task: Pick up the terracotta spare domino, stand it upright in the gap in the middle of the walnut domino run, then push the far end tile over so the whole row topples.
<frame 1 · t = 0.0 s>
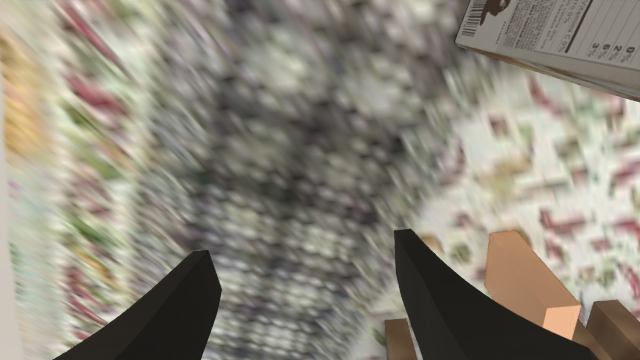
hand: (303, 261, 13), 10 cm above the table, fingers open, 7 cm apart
domino 1: (598, 322, 29), on the table
domino 2: (549, 326, 29), on the table
coffee box: (548, 7, 18), on the table
domino 5: (396, 339, 30), on the table
spare domino: (499, 258, 26), on the table
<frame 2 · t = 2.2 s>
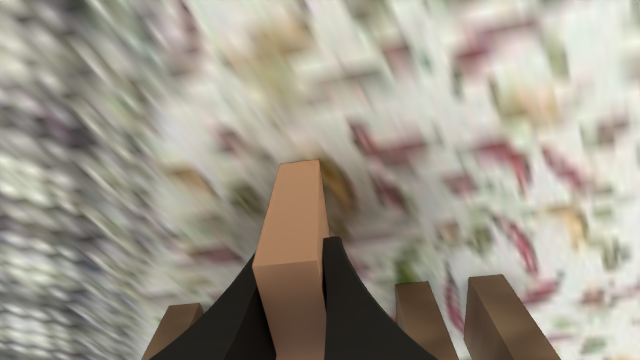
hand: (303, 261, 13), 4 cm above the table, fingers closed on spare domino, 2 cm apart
domino 1: (481, 308, 20), on the table
domino 2: (412, 315, 20), on the table
domino 5: (196, 334, 21), on the table
spare domino: (307, 208, 17), on the table, touching gripper
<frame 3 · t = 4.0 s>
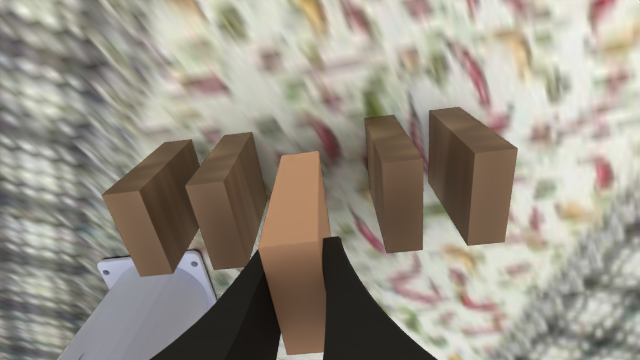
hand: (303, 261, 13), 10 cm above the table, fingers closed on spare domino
domino 4: (246, 168, 23), on the table
domino 1: (442, 146, 22), on the table
domino 2: (381, 153, 22), on the table
domino 5: (189, 175, 23), on the table
spare domino: (307, 197, 17), point 5 cm above the table, touching gripper
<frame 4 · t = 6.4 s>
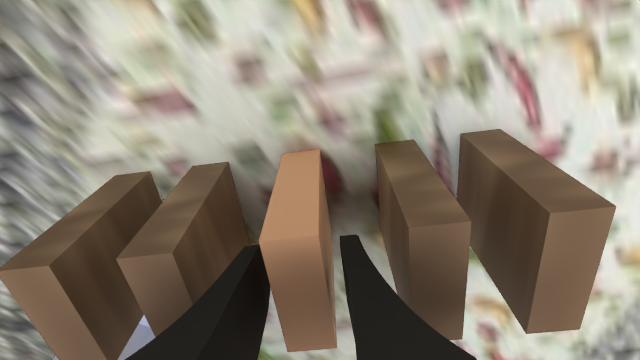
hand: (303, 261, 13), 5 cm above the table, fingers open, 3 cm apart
domino 4: (223, 207, 18), on the table
domino 1: (476, 178, 17), on the table
domino 2: (395, 187, 17), on the table
domino 5: (150, 215, 18), on the table
spare domino: (308, 196, 17), on the table
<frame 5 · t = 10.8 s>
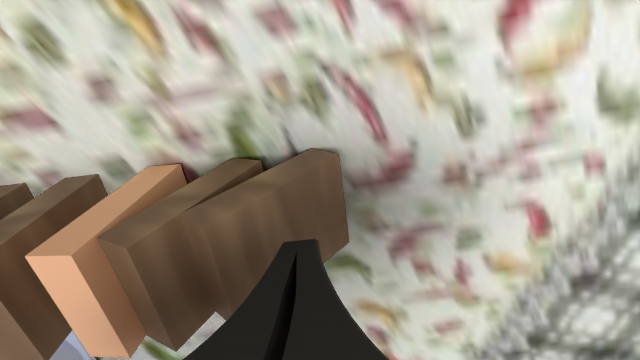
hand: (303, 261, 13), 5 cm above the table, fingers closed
domino 4: (101, 216, 19), on the table
domino 1: (330, 196, 17), point 1 cm above the table, tilted 43°
domino 2: (257, 202, 18), on the table, tilted 29°, touching spare domino
domino 5: (33, 224, 19), on the table
spare domino: (179, 207, 18), on the table, tilted 8°, touching domino 2
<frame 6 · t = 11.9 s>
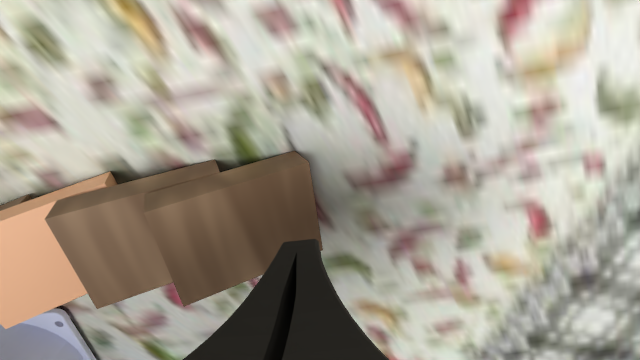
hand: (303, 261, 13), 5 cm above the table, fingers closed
domino 1: (308, 201, 17), point 1 cm above the table, tilted 64°, touching domino 2
domino 2: (230, 209, 18), point 1 cm above the table, tilted 67°, touching domino 1, spare domino
spare domino: (132, 218, 18), point 1 cm above the table, tilted 66°, touching domino 2, domino 4
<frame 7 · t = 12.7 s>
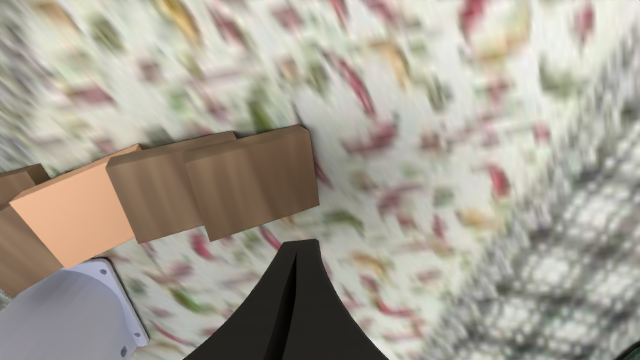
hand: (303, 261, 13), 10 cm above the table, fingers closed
domino 4: (91, 204, 23), point 1 cm above the table, tilted 66°, touching spare domino
domino 1: (309, 165, 22), point 1 cm above the table, tilted 65°, touching domino 2
domino 2: (243, 171, 22), point 1 cm above the table, tilted 68°, touching domino 1, spare domino
domino 5: (58, 197, 23), on the table, tilted 90°
spare domino: (157, 180, 22), point 1 cm above the table, tilted 67°, touching domino 2, domino 4
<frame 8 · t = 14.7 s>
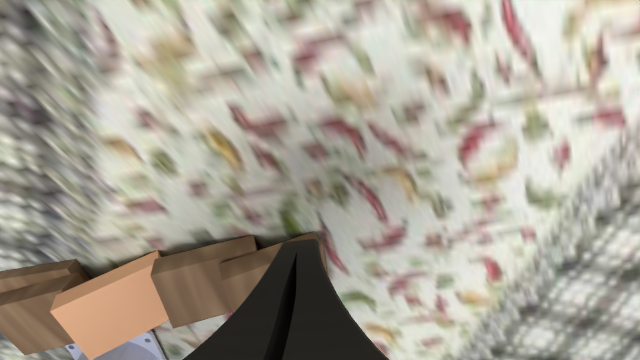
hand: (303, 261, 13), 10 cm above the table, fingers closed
domino 4: (89, 305, 26), point 2 cm above the table, tilted 90°, touching domino 5
domino 1: (322, 265, 25), point 1 cm above the table, tilted 67°, touching domino 2
domino 2: (261, 268, 26), point 1 cm above the table, tilted 74°, touching domino 1
domino 5: (90, 284, 27), on the table, tilted 90°, touching domino 4
spare domino: (172, 280, 26), point 1 cm above the table, tilted 63°
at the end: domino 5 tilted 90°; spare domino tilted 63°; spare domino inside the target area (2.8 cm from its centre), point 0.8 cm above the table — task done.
